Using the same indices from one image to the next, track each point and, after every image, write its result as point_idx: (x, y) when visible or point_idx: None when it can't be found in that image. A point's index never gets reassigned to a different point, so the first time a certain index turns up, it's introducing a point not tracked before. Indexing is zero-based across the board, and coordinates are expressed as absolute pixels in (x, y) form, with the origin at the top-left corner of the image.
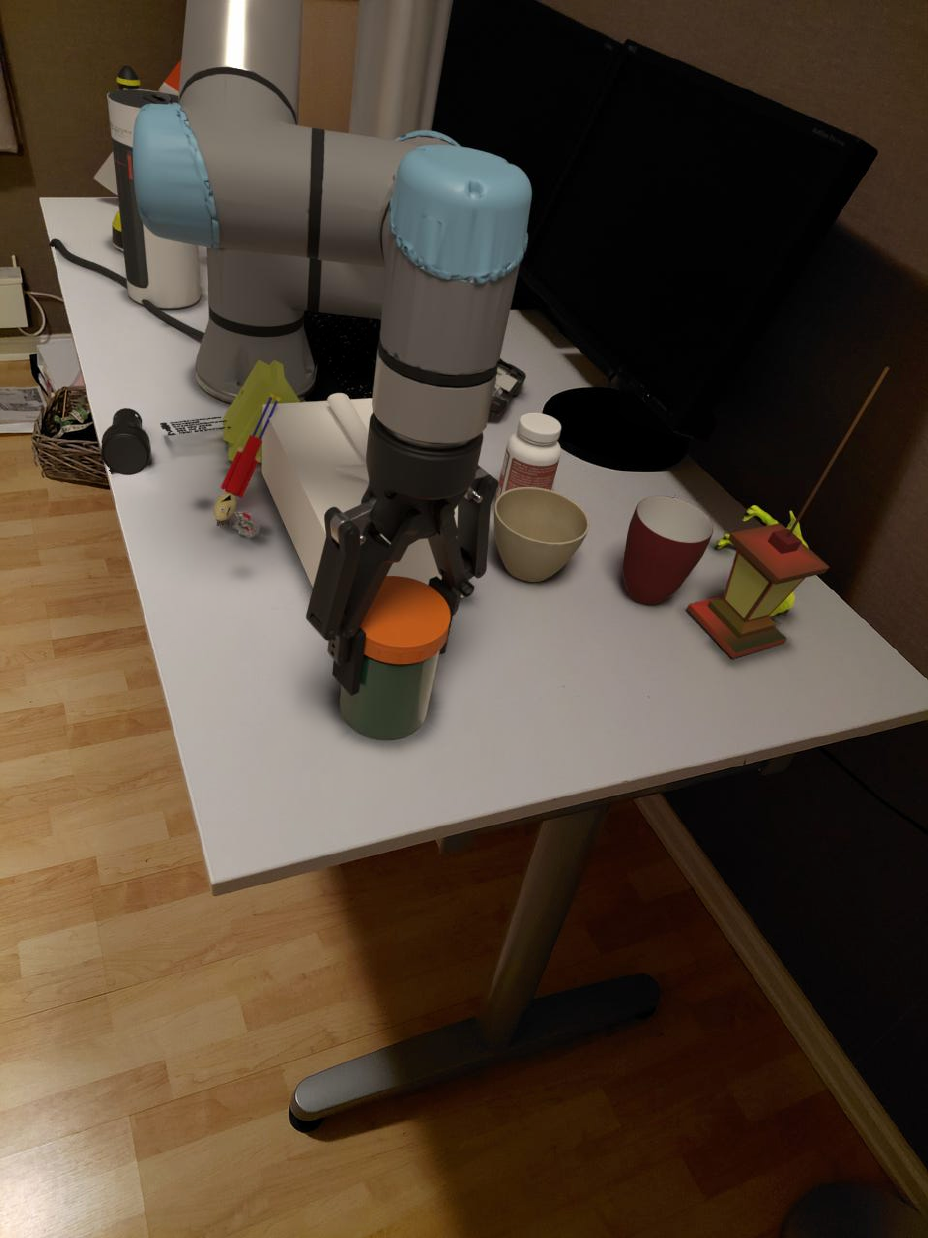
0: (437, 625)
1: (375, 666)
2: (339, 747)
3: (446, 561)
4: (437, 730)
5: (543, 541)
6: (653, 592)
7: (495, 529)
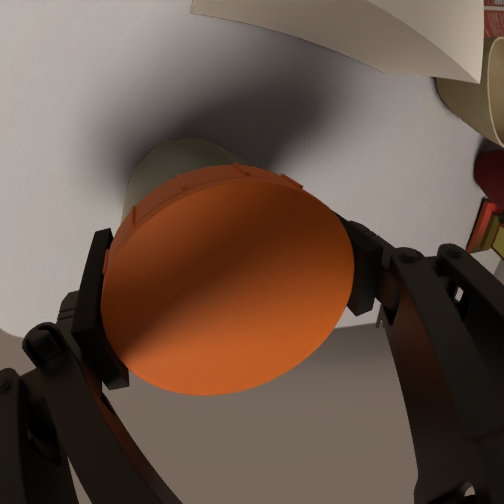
0: (288, 357)
1: None
2: None
3: (406, 391)
4: None
5: None
6: (488, 195)
7: None
